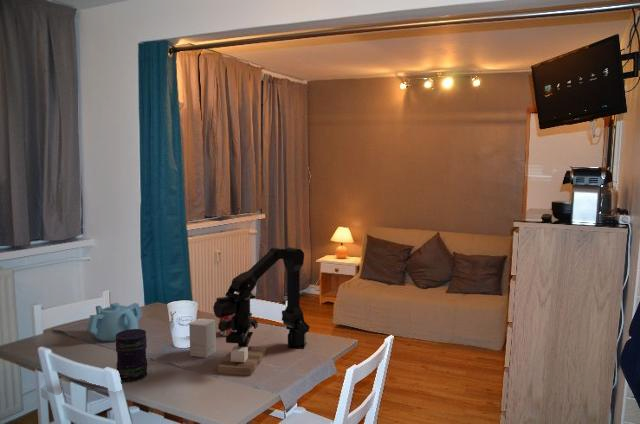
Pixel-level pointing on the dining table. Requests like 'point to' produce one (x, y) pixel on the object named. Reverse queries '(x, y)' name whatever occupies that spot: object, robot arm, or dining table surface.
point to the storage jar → (131, 354)
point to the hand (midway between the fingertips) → (242, 353)
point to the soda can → (228, 329)
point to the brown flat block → (243, 367)
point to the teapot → (113, 320)
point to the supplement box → (202, 337)
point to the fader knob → (239, 354)
